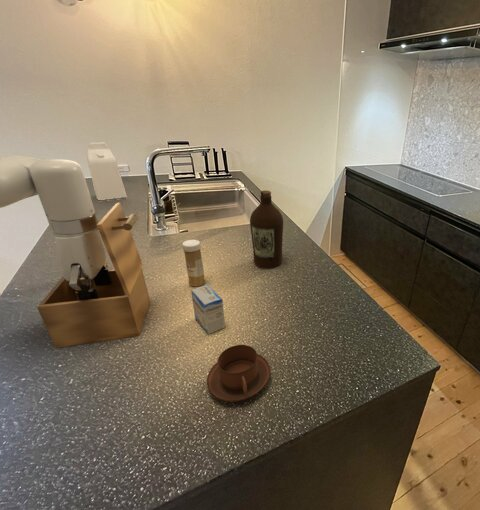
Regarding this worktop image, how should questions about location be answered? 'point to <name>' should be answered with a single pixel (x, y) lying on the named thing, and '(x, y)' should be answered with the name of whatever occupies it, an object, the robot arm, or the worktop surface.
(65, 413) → the worktop surface
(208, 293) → the medicine box
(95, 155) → the milk
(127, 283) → the lid
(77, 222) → the robot arm
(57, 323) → the chest
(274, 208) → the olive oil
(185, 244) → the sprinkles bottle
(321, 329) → the worktop surface
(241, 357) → the cup and saucer
